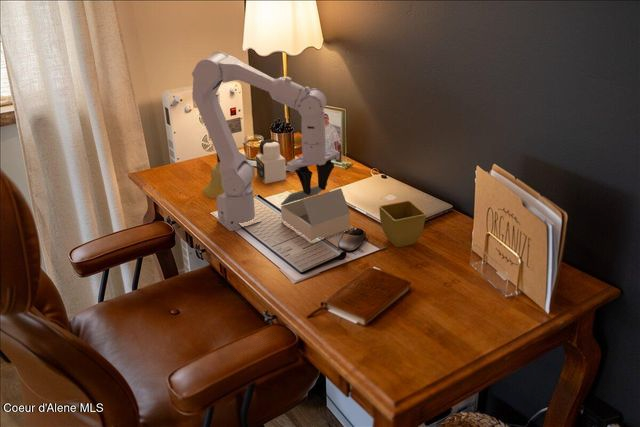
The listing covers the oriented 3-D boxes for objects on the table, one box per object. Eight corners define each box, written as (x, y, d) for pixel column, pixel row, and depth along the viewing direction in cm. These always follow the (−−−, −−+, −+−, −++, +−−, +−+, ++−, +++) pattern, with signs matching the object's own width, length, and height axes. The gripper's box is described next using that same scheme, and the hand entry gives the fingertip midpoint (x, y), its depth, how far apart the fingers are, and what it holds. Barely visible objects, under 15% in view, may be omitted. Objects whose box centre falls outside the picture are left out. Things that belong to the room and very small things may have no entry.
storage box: (311, 244, 148) (310, 226, 146) (281, 222, 158) (281, 206, 156) (349, 230, 154) (349, 213, 152) (318, 210, 164) (318, 194, 162)
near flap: (311, 226, 145) (312, 225, 145) (302, 200, 146) (303, 199, 145) (349, 213, 151) (350, 213, 151) (340, 188, 152) (341, 188, 151)
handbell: (195, 188, 179) (186, 107, 167) (231, 177, 185) (224, 99, 174) (215, 202, 170) (206, 118, 158) (252, 191, 176) (246, 109, 165)
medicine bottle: (256, 175, 186) (254, 139, 181) (278, 171, 189) (276, 136, 184) (264, 184, 181) (262, 147, 175) (286, 179, 183) (284, 143, 178)
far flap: (290, 195, 150) (289, 194, 150) (281, 205, 156) (280, 204, 156) (327, 184, 156) (327, 182, 156) (317, 194, 162) (317, 192, 162)
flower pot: (377, 237, 151) (378, 205, 147) (407, 230, 153) (409, 199, 149) (392, 253, 143) (394, 220, 139) (424, 246, 146) (427, 214, 142)
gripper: (297, 151, 138) (299, 203, 145) (347, 138, 146) (346, 189, 152) (281, 143, 144) (283, 193, 150) (330, 131, 151) (330, 180, 157)
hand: (314, 190), depth 151 cm, fingers open, 4 cm apart
